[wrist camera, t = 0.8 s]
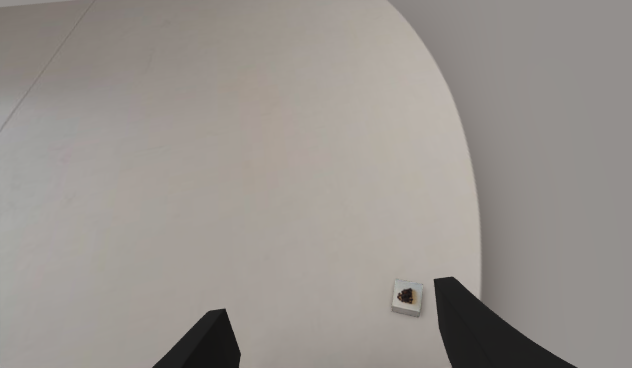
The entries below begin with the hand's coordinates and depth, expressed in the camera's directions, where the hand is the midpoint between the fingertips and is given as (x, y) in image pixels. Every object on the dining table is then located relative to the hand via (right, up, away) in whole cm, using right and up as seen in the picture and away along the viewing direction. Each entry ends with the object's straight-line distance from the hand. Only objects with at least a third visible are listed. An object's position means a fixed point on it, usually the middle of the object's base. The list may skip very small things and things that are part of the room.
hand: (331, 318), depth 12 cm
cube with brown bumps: (+7, -5, +18) cm, 20 cm away
